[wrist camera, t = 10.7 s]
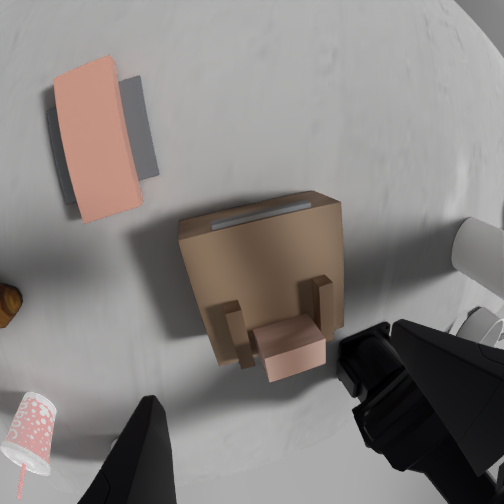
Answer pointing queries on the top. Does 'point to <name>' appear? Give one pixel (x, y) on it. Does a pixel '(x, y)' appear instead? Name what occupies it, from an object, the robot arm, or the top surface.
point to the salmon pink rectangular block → (96, 140)
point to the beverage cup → (31, 436)
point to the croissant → (9, 303)
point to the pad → (135, 130)
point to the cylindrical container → (480, 254)
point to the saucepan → (482, 328)
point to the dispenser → (269, 280)
